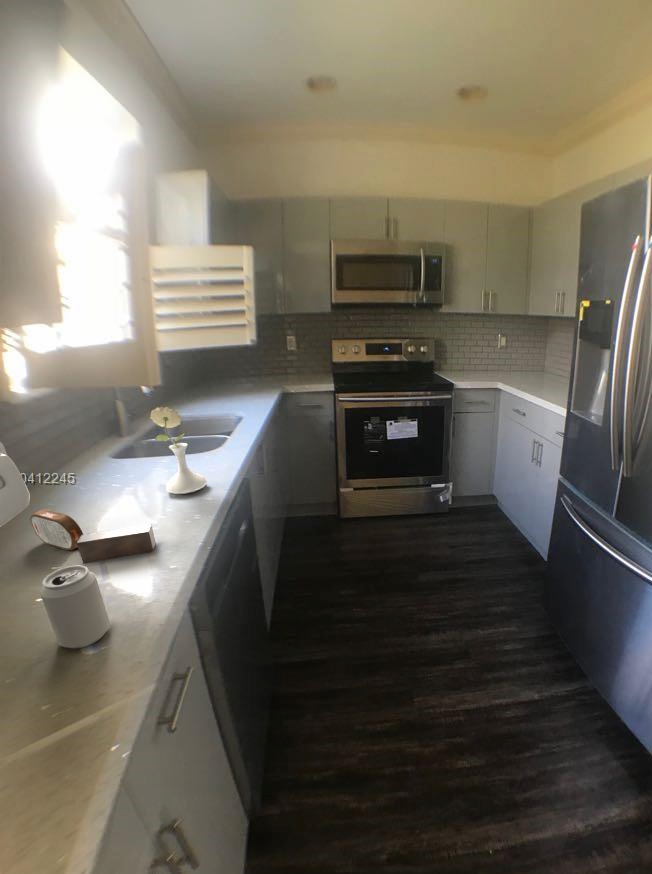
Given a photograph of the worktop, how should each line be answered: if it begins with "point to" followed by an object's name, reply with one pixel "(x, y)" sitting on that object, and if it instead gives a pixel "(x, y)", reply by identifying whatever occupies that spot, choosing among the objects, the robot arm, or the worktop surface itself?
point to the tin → (56, 529)
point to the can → (75, 606)
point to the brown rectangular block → (116, 543)
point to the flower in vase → (177, 454)
